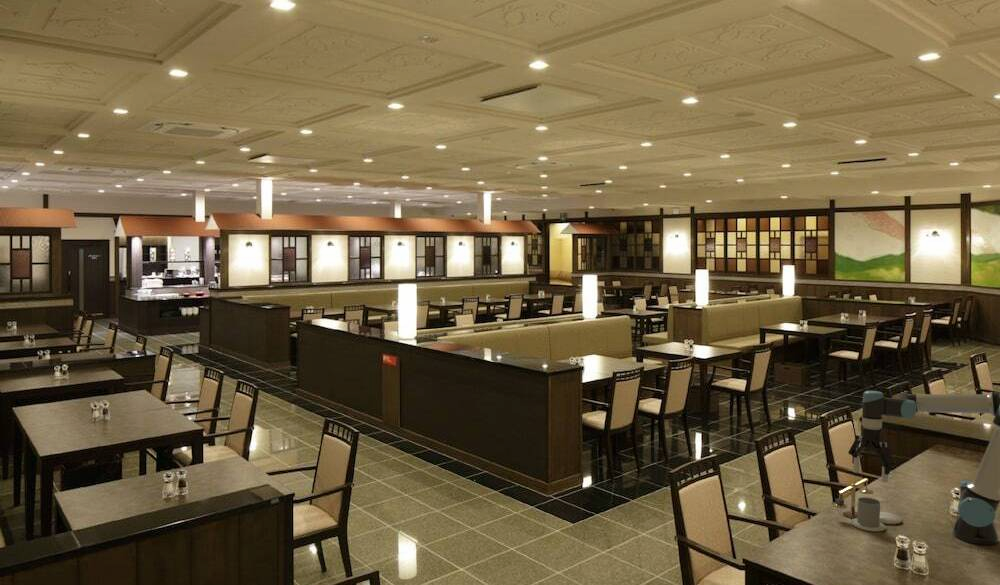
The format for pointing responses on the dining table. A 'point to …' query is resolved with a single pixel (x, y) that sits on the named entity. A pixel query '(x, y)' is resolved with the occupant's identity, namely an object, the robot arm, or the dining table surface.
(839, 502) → the balance
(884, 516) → the white dome
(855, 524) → the dish green
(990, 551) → the dining table surface
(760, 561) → the dining table surface
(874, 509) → the cup
